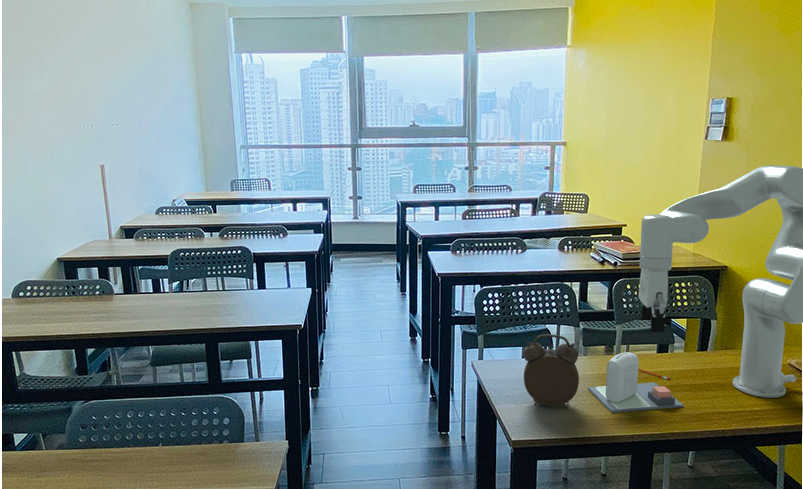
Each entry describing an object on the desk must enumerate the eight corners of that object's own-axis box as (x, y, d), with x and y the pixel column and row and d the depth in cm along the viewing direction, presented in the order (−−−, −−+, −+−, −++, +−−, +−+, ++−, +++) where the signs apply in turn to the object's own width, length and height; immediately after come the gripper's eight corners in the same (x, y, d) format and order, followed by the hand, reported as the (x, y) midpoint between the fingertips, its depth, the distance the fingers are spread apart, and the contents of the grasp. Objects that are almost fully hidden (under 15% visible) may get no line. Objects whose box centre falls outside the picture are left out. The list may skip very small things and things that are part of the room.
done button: (663, 393, 150) (664, 386, 149) (670, 399, 146) (670, 391, 146) (652, 394, 149) (652, 387, 149) (658, 399, 146) (659, 392, 146)
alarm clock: (577, 400, 151) (579, 331, 147) (578, 413, 144) (580, 341, 140) (523, 395, 155) (524, 328, 151) (521, 407, 148) (522, 337, 144)
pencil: (669, 381, 162) (669, 378, 162) (610, 363, 176) (610, 360, 176) (670, 380, 162) (670, 377, 162) (612, 362, 177) (612, 359, 177)
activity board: (654, 384, 159) (654, 376, 159) (683, 406, 146) (683, 398, 145) (588, 389, 157) (588, 381, 157) (611, 412, 144) (611, 404, 143)
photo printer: (625, 388, 156) (627, 347, 153) (639, 394, 152) (641, 351, 150) (602, 398, 150) (604, 356, 148) (616, 404, 146) (618, 361, 144)
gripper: (632, 255, 151) (630, 315, 154) (648, 270, 134) (645, 336, 138) (661, 255, 150) (658, 315, 153) (681, 270, 133) (677, 337, 136)
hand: (652, 325), depth 145 cm, fingers open, 9 cm apart
